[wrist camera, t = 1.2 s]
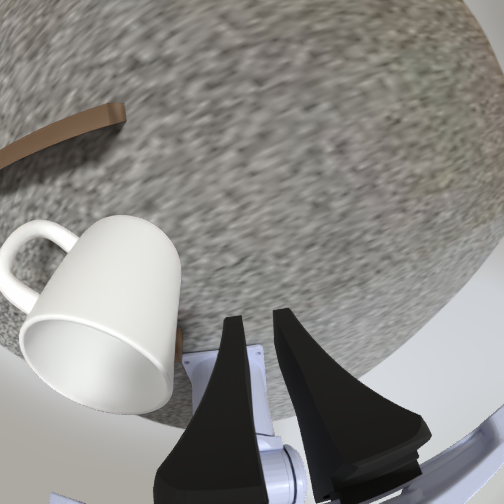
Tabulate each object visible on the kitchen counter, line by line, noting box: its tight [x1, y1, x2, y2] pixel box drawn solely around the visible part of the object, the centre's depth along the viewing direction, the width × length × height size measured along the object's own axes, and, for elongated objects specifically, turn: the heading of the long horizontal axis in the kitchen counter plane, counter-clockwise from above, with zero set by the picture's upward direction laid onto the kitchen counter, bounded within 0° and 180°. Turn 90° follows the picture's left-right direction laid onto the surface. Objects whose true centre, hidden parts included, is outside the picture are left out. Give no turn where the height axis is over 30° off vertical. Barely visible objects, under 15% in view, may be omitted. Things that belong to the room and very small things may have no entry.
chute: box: [0, 103, 183, 362], centre depth 16 cm, size 19×18×3 cm
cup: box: [0, 215, 181, 415], centre depth 14 cm, size 8×12×10 cm
